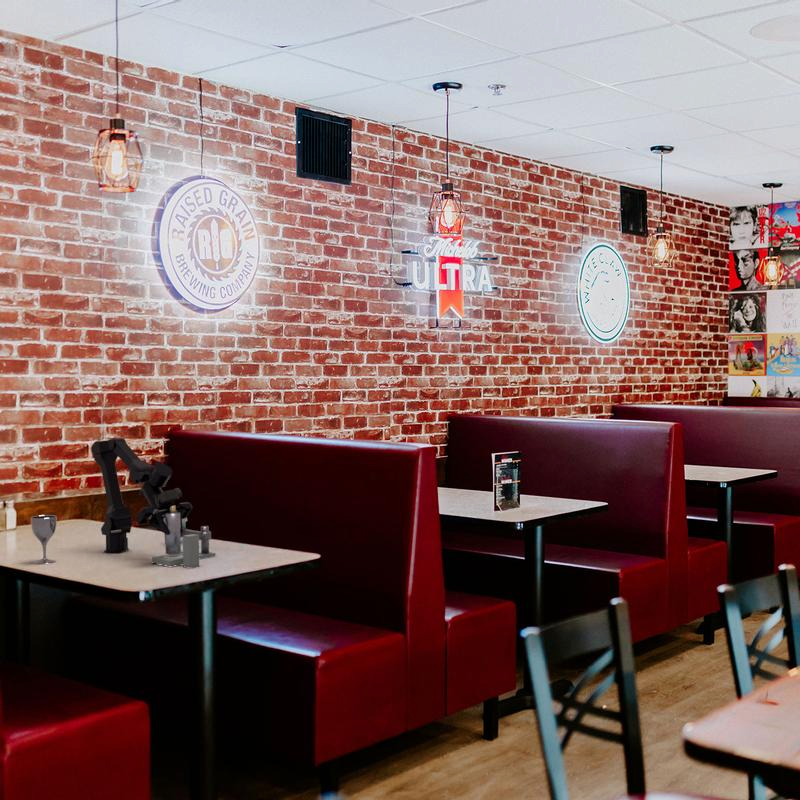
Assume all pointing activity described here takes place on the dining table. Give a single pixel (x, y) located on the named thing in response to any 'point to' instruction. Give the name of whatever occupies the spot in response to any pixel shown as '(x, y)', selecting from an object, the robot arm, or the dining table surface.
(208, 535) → the lever
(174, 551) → the grey bottle
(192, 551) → the press
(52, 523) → the wine glass
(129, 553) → the dining table surface
